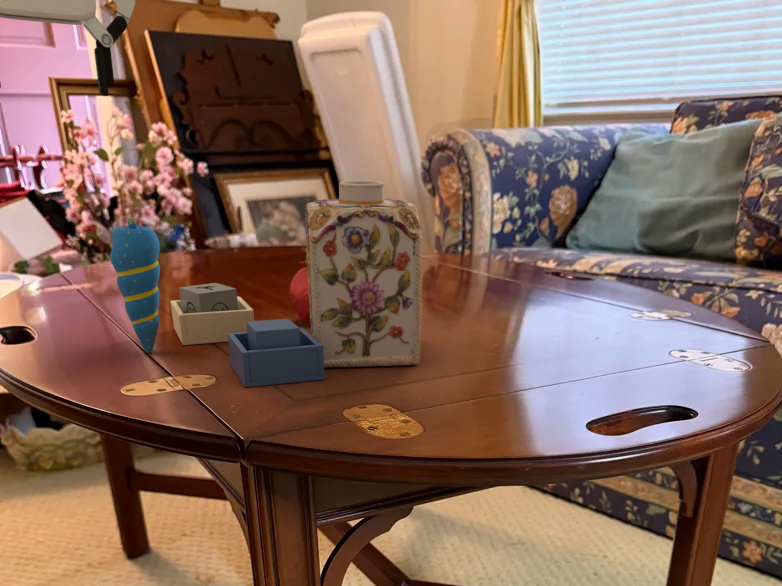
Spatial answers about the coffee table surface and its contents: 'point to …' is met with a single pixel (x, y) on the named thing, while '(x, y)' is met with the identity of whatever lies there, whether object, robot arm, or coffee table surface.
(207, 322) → the cream bin
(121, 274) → the ornament
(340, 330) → the decorative jar
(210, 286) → the dice cube
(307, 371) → the blue bin
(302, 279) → the pomegranate
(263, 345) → the blue block
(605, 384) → the coffee table surface
